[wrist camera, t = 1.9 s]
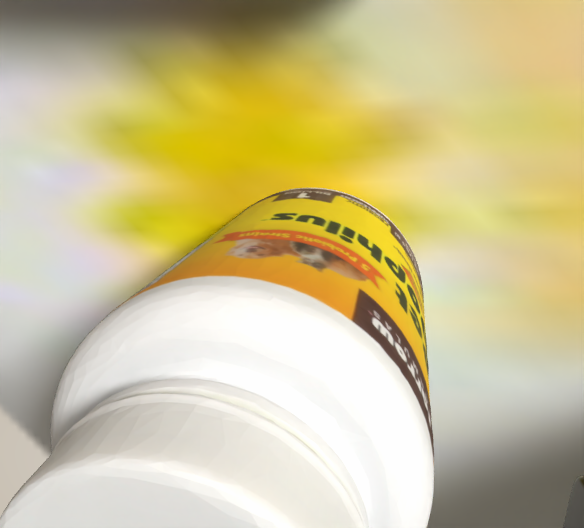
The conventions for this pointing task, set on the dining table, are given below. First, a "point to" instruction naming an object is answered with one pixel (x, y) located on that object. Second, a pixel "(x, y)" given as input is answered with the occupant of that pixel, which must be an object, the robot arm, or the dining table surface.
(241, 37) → the dining table surface
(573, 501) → the robot arm
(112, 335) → the supplement bottle
